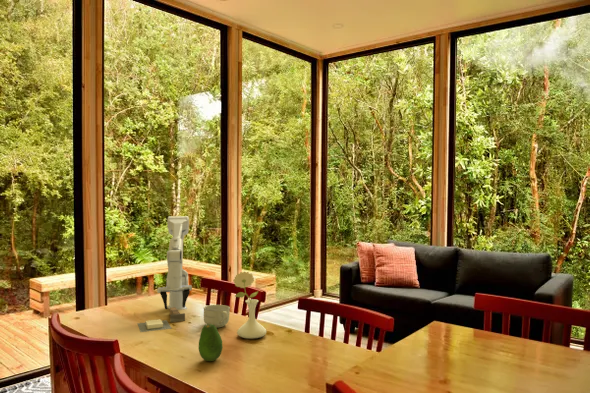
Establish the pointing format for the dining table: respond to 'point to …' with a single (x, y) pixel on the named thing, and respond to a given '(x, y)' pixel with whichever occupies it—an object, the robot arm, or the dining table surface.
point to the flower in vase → (251, 326)
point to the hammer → (176, 315)
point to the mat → (144, 328)
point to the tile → (154, 324)
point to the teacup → (216, 315)
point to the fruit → (210, 343)
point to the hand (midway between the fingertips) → (174, 307)
